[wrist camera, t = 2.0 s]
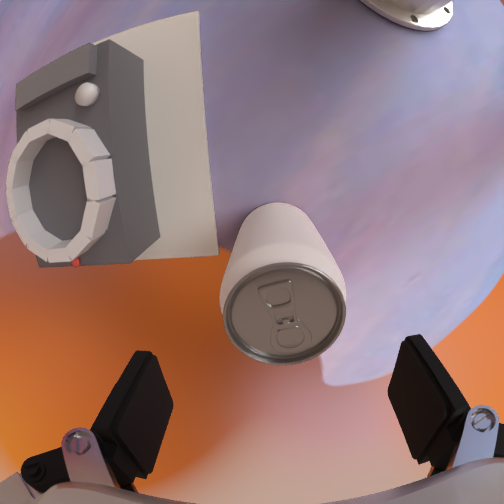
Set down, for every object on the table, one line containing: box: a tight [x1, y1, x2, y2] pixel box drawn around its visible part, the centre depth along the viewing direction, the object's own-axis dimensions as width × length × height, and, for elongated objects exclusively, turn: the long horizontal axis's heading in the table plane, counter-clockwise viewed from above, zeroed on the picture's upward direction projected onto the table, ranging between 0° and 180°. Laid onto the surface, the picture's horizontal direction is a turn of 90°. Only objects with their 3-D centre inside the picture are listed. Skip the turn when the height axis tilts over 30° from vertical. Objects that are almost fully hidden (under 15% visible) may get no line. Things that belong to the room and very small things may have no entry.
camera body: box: [6, 39, 160, 267], centre depth 17 cm, size 16×10×8 cm, turn 4°
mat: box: [93, 11, 220, 260], centre depth 21 cm, size 22×16×1 cm
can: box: [220, 202, 346, 365], centre depth 18 cm, size 6×6×12 cm
